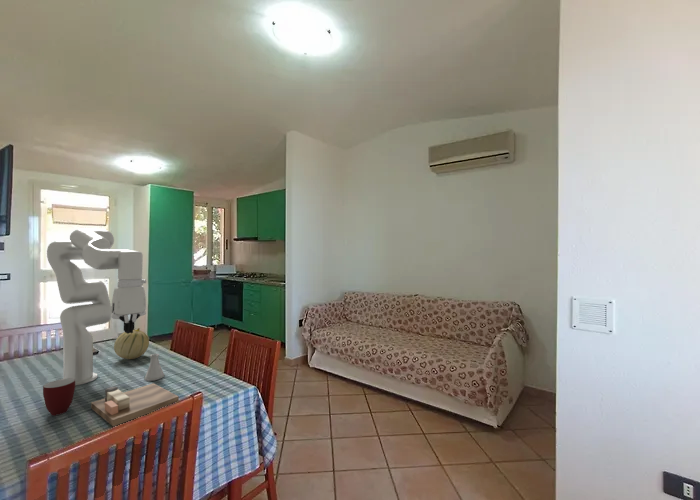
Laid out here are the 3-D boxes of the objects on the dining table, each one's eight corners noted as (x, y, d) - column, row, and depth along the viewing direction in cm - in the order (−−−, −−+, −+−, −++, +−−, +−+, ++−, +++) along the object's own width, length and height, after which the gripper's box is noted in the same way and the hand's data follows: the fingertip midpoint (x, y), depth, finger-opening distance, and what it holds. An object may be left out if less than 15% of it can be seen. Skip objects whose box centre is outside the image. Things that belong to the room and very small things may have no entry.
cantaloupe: (109, 359, 162) (109, 330, 162) (141, 352, 174) (141, 324, 174) (121, 365, 153) (121, 334, 154) (154, 357, 165) (154, 328, 166)
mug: (38, 412, 109) (38, 382, 109) (69, 402, 115) (69, 375, 116) (46, 421, 103) (46, 390, 103) (78, 411, 109) (78, 381, 109)
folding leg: (103, 399, 113) (103, 389, 113) (115, 395, 116) (115, 385, 116) (117, 410, 105) (117, 399, 105) (130, 406, 108) (130, 395, 108)
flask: (155, 382, 134) (155, 358, 134) (140, 380, 135) (140, 357, 135) (168, 375, 141) (168, 352, 141) (154, 374, 142) (154, 351, 142)
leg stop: (104, 409, 106) (104, 402, 106) (111, 407, 108) (111, 400, 108) (111, 415, 103) (111, 407, 103) (118, 412, 104) (118, 405, 104)
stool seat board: (91, 408, 111) (91, 402, 111) (153, 388, 127) (153, 383, 127) (112, 426, 100) (113, 420, 100) (178, 401, 116) (178, 396, 116)
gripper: (147, 281, 128) (146, 327, 128) (102, 284, 116) (101, 334, 116) (156, 283, 124) (154, 330, 124) (109, 286, 112) (108, 338, 112)
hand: (128, 332), depth 120 cm, fingers closed
